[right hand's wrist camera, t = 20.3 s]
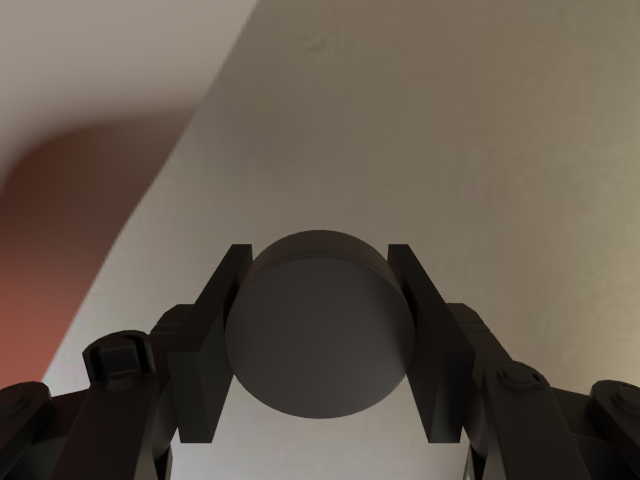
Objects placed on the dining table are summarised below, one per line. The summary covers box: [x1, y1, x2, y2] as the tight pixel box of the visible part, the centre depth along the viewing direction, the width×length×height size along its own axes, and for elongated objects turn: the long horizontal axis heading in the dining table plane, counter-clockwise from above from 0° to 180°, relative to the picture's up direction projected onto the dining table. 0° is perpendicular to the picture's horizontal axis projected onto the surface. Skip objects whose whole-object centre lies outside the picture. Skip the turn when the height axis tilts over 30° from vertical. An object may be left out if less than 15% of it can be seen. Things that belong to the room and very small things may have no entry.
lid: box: [224, 230, 416, 419], centre depth 11 cm, size 5×5×2 cm
